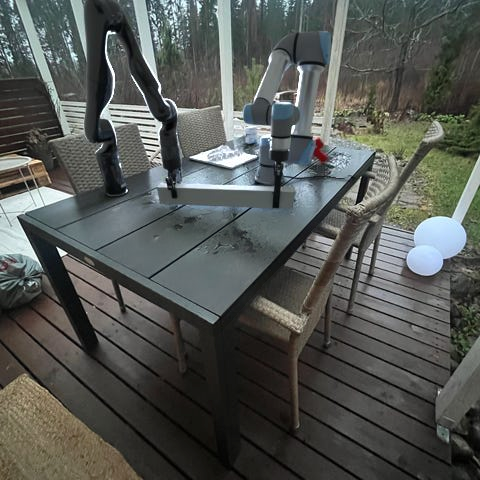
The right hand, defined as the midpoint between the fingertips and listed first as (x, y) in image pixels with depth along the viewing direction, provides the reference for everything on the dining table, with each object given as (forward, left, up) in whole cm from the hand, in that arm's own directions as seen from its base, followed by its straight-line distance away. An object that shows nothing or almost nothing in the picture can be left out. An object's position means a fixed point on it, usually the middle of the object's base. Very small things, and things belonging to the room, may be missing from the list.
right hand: (275, 204), depth 115 cm
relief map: (+48, -63, -2) cm, 80 cm away
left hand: (+42, +9, +3) cm, 43 cm away
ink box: (+43, -111, -2) cm, 119 cm away
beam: (+21, +4, -1) cm, 21 cm away
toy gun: (-7, -72, -2) cm, 73 cm away
